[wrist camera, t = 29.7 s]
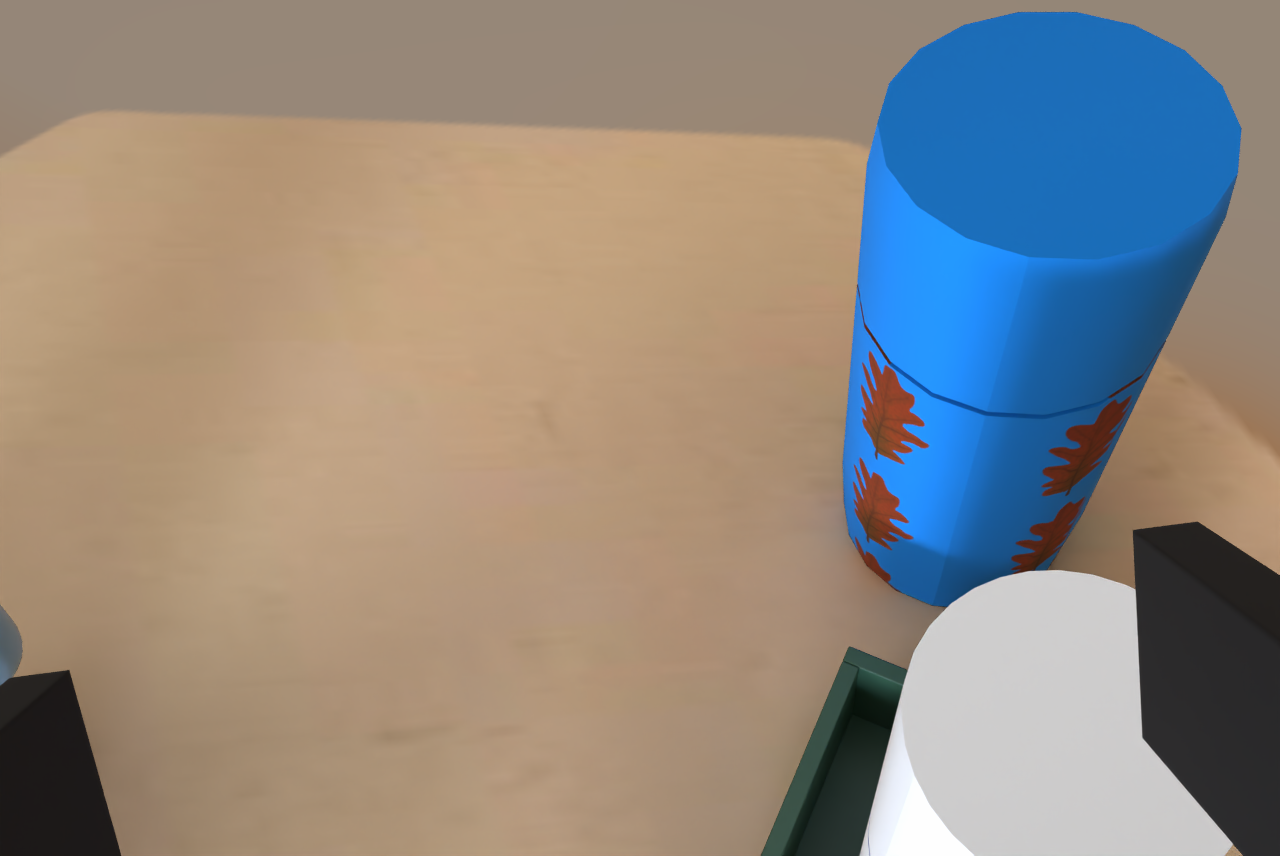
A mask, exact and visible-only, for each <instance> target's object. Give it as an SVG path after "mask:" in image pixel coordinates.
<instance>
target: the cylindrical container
mask: <svg viewBox="0 0 1280 856" xmlns="http://www.w3.org/2000/svg"><path fill="white" fill-rule="evenodd" d="M1232 845H1233V843H1232V842H1231V841H1230V840H1229V839H1228V837H1227V836H1226V835H1225V834H1224V833H1223V832H1222V830H1221V829H1220V828H1219V827H1218V826H1217V825H1216V823H1215V822H1214V821H1213V820H1212V819H1211V818H1210V816H1209V815H1208V814H1207V813H1206V812H1205V811H1204V809H1203V808H1202V807H1201V806H1200V805H1199V804H1198V802H1197V801H1196V800H1195V799H1194V798H1193V797H1192V795H1191V794H1190V793H1189V792H1188V791H1187V790H1186V788H1185V787H1184V786H1183V785H1182V784H1181V783H1180V781H1179V780H1178V779H1177V778H1176V777H1175V776H1174V774H1173V773H1172V772H1171V771H1170V770H1169V769H1168V767H1167V766H1166V765H1165V764H1164V763H1163V762H1162V760H1161V759H1160V758H1159V757H1158V756H1157V755H1156V753H1155V752H1154V751H1153V750H1152V749H1151V748H1150V746H1149V745H1148V744H1147V743H1146V742H1145V741H1144V739H1143V738H1142V720H1141V698H1140V676H1139V654H1138V632H1137V610H1136V590H1135V589H1133V588H1131V587H1129V586H1127V585H1125V584H1121V583H1118V582H1115V581H1112V580H1109V579H1105V578H1102V577H1099V576H1096V575H1092V574H1085V573H1078V572H1070V571H1063V570H1048V571H1027V572H1023V573H1018V574H1013V575H1009V576H1004V577H1000V578H997V579H995V580H993V581H990V582H988V583H985V584H983V585H980V586H978V587H976V588H974V589H972V590H971V591H969V592H968V593H966V594H965V595H963V596H962V597H960V598H959V599H957V600H956V601H954V602H953V603H951V604H950V605H949V606H948V607H947V608H946V609H945V610H944V611H943V612H942V613H941V614H940V615H939V616H938V617H937V618H936V619H935V620H934V621H933V623H932V624H931V625H930V626H929V627H928V629H927V631H926V632H925V634H924V636H923V637H922V639H921V641H920V642H919V644H918V646H917V647H916V649H915V651H914V653H913V656H912V659H911V662H910V665H909V668H908V672H907V675H906V678H905V681H904V685H903V688H902V692H901V696H900V700H899V704H898V708H897V712H896V716H895V719H894V723H893V727H892V731H891V735H890V739H889V743H888V747H887V751H886V754H885V758H884V762H883V766H882V770H881V774H880V778H879V782H878V786H877V790H876V793H875V797H874V801H873V805H872V809H871V813H870V817H869V821H868V825H867V828H866V832H865V836H864V840H863V844H862V848H861V852H860V856H1224V855H1225V854H1226V853H1227V852H1228V850H1229V849H1230V848H1231V847H1232Z"/></svg>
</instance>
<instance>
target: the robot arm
mask: <svg viewBox="0 0 1280 856" xmlns="http://www.w3.org/2000/svg"><path fill="white" fill-rule="evenodd" d="M1133 544H1134V566H1135V588H1136V610H1137V632H1138V654H1139V676H1140V698H1141V720H1142V738H1143V739H1144V741H1145V742H1146V743H1147V744H1148V745H1149V746H1150V748H1151V749H1152V750H1153V751H1154V752H1155V753H1156V755H1157V756H1158V757H1159V758H1160V759H1161V760H1162V762H1163V763H1164V764H1165V765H1166V766H1167V767H1168V769H1169V770H1170V771H1171V772H1172V773H1173V774H1174V776H1175V777H1176V778H1177V779H1178V780H1179V781H1180V783H1181V784H1182V785H1183V786H1184V787H1185V788H1186V790H1187V791H1188V792H1189V793H1190V794H1191V795H1192V797H1193V798H1194V799H1195V800H1196V801H1197V802H1198V804H1199V805H1200V806H1201V807H1202V808H1203V809H1204V811H1205V812H1206V813H1207V814H1208V815H1209V816H1210V818H1211V819H1212V820H1213V821H1214V822H1215V823H1216V825H1217V826H1218V827H1219V828H1220V829H1221V830H1222V832H1223V833H1224V834H1225V835H1226V836H1227V837H1228V839H1229V840H1230V841H1231V842H1232V843H1233V844H1234V846H1235V847H1236V848H1237V849H1238V850H1239V851H1240V853H1241V854H1242V855H1243V856H1280V575H1278V574H1277V573H1275V572H1274V571H1272V570H1271V569H1269V568H1268V567H1266V566H1265V565H1263V564H1261V563H1260V562H1258V561H1257V560H1255V559H1254V558H1252V557H1251V556H1249V555H1248V554H1246V553H1245V552H1243V551H1242V550H1240V549H1239V548H1237V547H1236V546H1234V545H1232V544H1231V543H1229V542H1228V541H1226V540H1225V539H1223V538H1222V537H1220V536H1219V535H1217V534H1216V533H1214V532H1213V531H1211V530H1210V529H1208V528H1206V527H1205V526H1203V525H1202V524H1200V523H1199V522H1191V523H1183V524H1176V525H1168V526H1161V527H1153V528H1145V529H1138V530H1133ZM22 652H23V650H22V639H21V635H20V633H19V630H18V628H17V626H16V624H15V623H14V622H13V620H12V619H11V618H10V616H9V615H8V614H7V612H6V611H5V610H4V609H3V607H2V606H1V605H0V856H121V853H120V849H119V846H118V842H117V839H116V835H115V832H114V828H113V824H112V821H111V817H110V814H109V810H108V807H107V803H106V800H105V796H104V792H103V789H102V785H101V782H100V778H99V775H98V771H97V767H96V764H95V760H94V757H93V753H92V750H91V746H90V743H89V739H88V735H87V732H86V728H85V725H84V721H83V718H82V714H81V710H80V707H79V703H78V700H77V696H76V693H75V689H74V686H73V682H72V678H71V675H70V671H69V670H66V671H59V672H51V673H44V674H36V675H28V676H21V677H13V676H14V674H15V673H16V671H17V669H18V666H19V664H20V661H21V658H22ZM12 677H13V678H12Z"/></svg>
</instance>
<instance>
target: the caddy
mask: <svg viewBox="0 0 1280 856" xmlns="http://www.w3.org/2000/svg"><path fill="white" fill-rule="evenodd" d="M907 672H908V670H906V669H904V668H901V667H899V666H896V665H894V664H891V663H889V662H887V661H884V660H882V659H879V658H877V657H874V656H872V655H870V654H867V653H865V652H862V651H860V650H857V649H855V648H853V647H848V650H847V652H846V654H845V657H844V659H843V662H842V664H841V666H840V668H839V671H838V673H837V676H836V678H835V680H834V683H833V685H832V688H831V690H830V692H829V695H828V697H827V699H826V702H825V704H824V707H823V709H822V711H821V714H820V716H819V718H818V721H817V723H816V726H815V728H814V730H813V733H812V735H811V738H810V740H809V742H808V745H807V747H806V749H805V752H804V754H803V757H802V759H801V761H800V764H799V766H798V768H797V771H796V773H795V776H794V778H793V780H792V783H791V785H790V787H789V790H788V792H787V795H786V797H785V799H784V802H783V804H782V807H781V809H780V811H779V814H778V816H777V818H776V821H775V823H774V826H773V828H772V830H771V833H770V835H769V837H768V840H767V842H766V845H765V847H764V849H763V852H762V854H761V856H860V852H861V848H862V844H863V840H864V836H865V832H866V828H867V825H868V821H869V817H870V813H871V809H872V805H873V801H874V797H875V793H876V790H877V786H878V782H879V778H880V774H881V770H882V766H883V762H884V758H885V754H886V751H887V747H888V743H889V739H890V735H891V731H892V727H893V723H894V719H895V716H896V712H897V708H898V704H899V700H900V696H901V692H902V688H903V685H904V681H905V678H906V675H907Z"/></svg>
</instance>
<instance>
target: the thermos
mask: <svg viewBox="0 0 1280 856" xmlns="http://www.w3.org/2000/svg"><path fill="white" fill-rule="evenodd" d="M1240 138H1241V127H1240V124H1239V122H1238V120H1237V118H1236V116H1235V113H1234V111H1233V109H1232V106H1231V104H1230V102H1229V100H1228V98H1227V95H1226V93H1225V91H1224V89H1223V86H1222V85H1221V84H1220V83H1219V82H1217V80H1216V79H1214V78H1213V77H1212V76H1211V75H1210V74H1209V73H1208V72H1207V71H1206V70H1205V69H1204V68H1203V67H1202V66H1201V65H1200V64H1198V62H1196V61H1195V60H1194V59H1193V58H1192V57H1191V56H1190V55H1189V54H1188V53H1187V52H1186V51H1185V50H1183V49H1181V48H1179V47H1177V46H1175V45H1173V44H1171V43H1169V42H1167V41H1165V40H1163V39H1161V38H1159V37H1157V36H1155V35H1153V34H1151V33H1149V32H1147V31H1145V30H1143V29H1141V28H1139V27H1137V26H1135V25H1131V24H1127V23H1123V22H1118V21H1114V20H1109V19H1104V18H1100V17H1096V16H1091V15H1087V14H1082V13H1078V12H1017V13H1013V14H1008V15H1004V16H1000V17H996V18H991V19H987V20H983V21H979V22H975V23H970V24H966V25H963V26H961V27H959V28H957V29H956V30H954V31H952V32H951V33H948V34H947V35H945V36H943V37H941V38H939V39H937V40H936V41H934V42H932V43H930V44H928V45H927V46H925V47H923V48H921V49H919V50H918V52H917V53H916V54H915V55H914V56H913V57H912V58H911V59H910V60H909V62H908V63H907V64H906V65H905V66H904V67H903V68H902V69H901V71H900V72H899V73H898V74H897V75H896V76H895V77H894V78H893V80H892V81H891V82H890V83H889V86H888V89H887V93H886V96H885V99H884V103H883V106H882V110H881V113H880V116H879V120H878V123H877V127H876V131H875V135H874V139H873V142H872V146H871V150H870V154H869V158H868V162H867V170H866V183H865V195H864V207H863V220H862V232H861V244H860V257H859V269H858V285H857V294H856V306H855V318H854V330H853V343H852V355H851V367H850V380H849V392H848V404H847V417H846V429H845V441H844V454H843V486H844V505H845V512H846V518H847V525H848V532H849V536H850V537H851V539H852V541H853V543H854V544H855V546H856V548H857V549H858V551H859V553H860V555H861V556H862V558H863V560H864V562H865V563H866V565H867V566H868V567H869V568H870V569H871V570H873V571H874V572H875V573H876V574H877V575H878V576H880V577H881V578H882V579H883V580H884V581H885V582H887V583H888V584H889V585H890V586H891V587H892V588H894V589H895V590H896V591H899V592H901V593H903V594H906V595H908V596H911V597H913V598H916V599H918V600H920V601H923V602H925V603H928V604H930V605H932V606H943V607H948V606H949V605H950V604H951V603H953V602H954V601H956V600H957V599H959V598H960V597H962V596H963V595H965V594H966V593H968V592H969V591H971V590H972V589H974V588H976V587H978V586H980V585H983V584H985V583H988V582H990V581H993V580H995V579H997V578H1000V577H1004V576H1009V575H1013V574H1018V573H1023V572H1027V571H1046V570H1047V569H1048V567H1049V566H1050V564H1051V563H1052V561H1053V560H1054V558H1055V556H1056V555H1057V553H1058V552H1059V550H1060V549H1061V547H1062V546H1063V544H1064V542H1065V541H1066V539H1067V538H1068V536H1069V534H1070V533H1071V531H1072V530H1073V528H1074V527H1075V525H1076V523H1077V522H1078V520H1079V519H1080V517H1081V516H1082V514H1083V512H1084V510H1085V507H1086V505H1087V503H1088V501H1089V499H1090V497H1091V495H1092V493H1093V491H1094V489H1095V487H1096V485H1097V483H1098V481H1099V478H1100V476H1101V474H1102V472H1103V470H1104V468H1105V466H1106V464H1107V462H1108V460H1109V458H1110V456H1111V454H1112V452H1113V449H1114V447H1115V445H1116V443H1117V441H1118V439H1119V437H1120V435H1121V433H1122V431H1123V429H1124V427H1125V425H1126V423H1127V420H1128V418H1129V416H1130V414H1131V412H1132V410H1133V408H1134V406H1135V404H1136V402H1137V400H1138V398H1139V396H1140V393H1141V391H1142V389H1143V387H1144V385H1145V383H1146V381H1147V379H1148V377H1149V375H1150V373H1151V371H1152V369H1153V367H1154V364H1155V362H1156V360H1157V358H1158V356H1159V354H1160V352H1161V350H1162V348H1163V346H1164V344H1165V342H1166V339H1167V337H1168V335H1169V333H1170V331H1171V329H1172V327H1173V325H1174V323H1175V321H1176V319H1177V317H1178V315H1179V313H1180V310H1181V308H1182V306H1183V304H1184V302H1185V300H1186V298H1187V296H1188V294H1189V292H1190V290H1191V288H1192V286H1193V284H1194V282H1195V279H1196V277H1197V275H1198V273H1199V271H1200V269H1201V267H1202V265H1203V263H1204V261H1205V259H1206V256H1207V255H1208V253H1209V250H1210V248H1211V246H1212V244H1213V242H1214V240H1215V238H1216V236H1217V234H1218V232H1219V230H1220V228H1221V226H1222V224H1223V221H1224V219H1225V217H1226V214H1227V210H1228V206H1229V203H1230V199H1231V195H1232V192H1233V189H1234V185H1235V181H1236V178H1237V174H1238V164H1239V152H1240V140H1241V139H1240Z"/></svg>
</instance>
